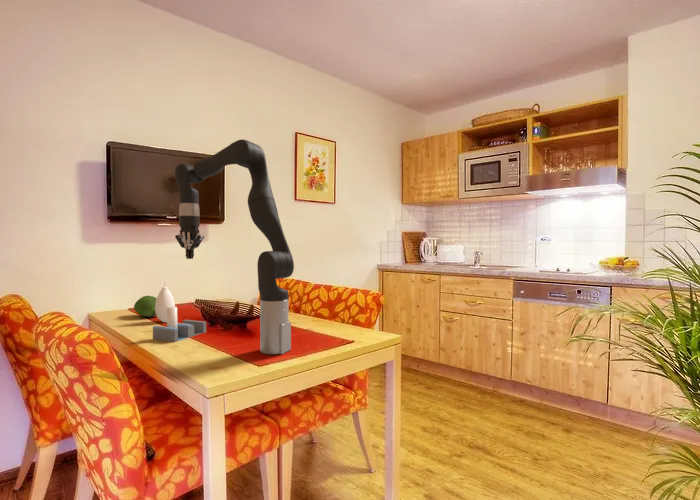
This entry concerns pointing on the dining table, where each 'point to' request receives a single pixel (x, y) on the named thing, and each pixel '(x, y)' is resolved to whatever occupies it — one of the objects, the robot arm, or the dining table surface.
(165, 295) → the white egg candle
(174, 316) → the white rectangular bar
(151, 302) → the fruit
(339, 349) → the dining table surface
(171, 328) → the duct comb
